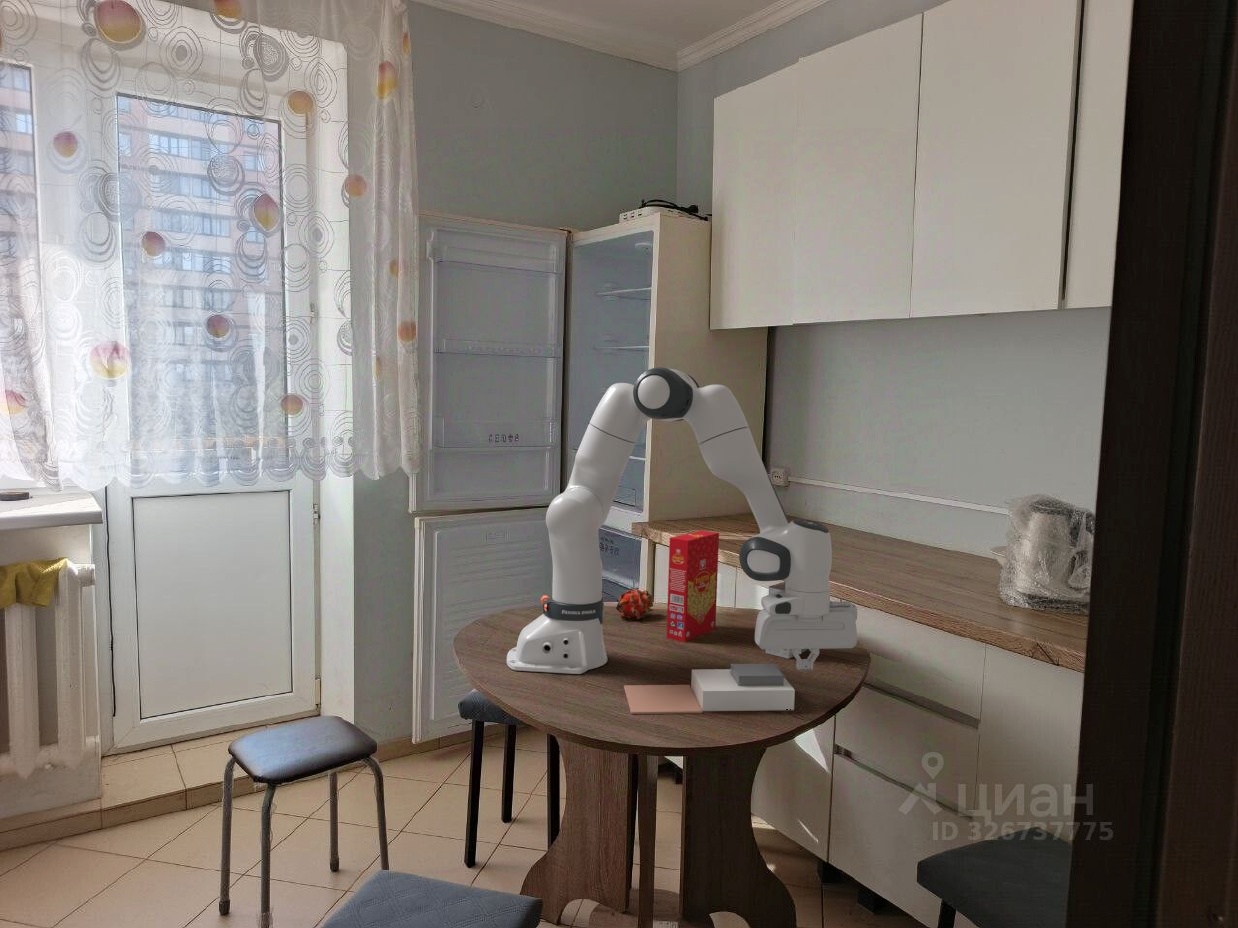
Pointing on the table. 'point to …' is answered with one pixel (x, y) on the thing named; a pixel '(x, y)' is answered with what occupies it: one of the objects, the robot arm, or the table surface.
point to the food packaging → (692, 585)
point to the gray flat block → (757, 675)
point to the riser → (737, 693)
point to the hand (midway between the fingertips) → (804, 669)
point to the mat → (661, 699)
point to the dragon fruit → (634, 604)
